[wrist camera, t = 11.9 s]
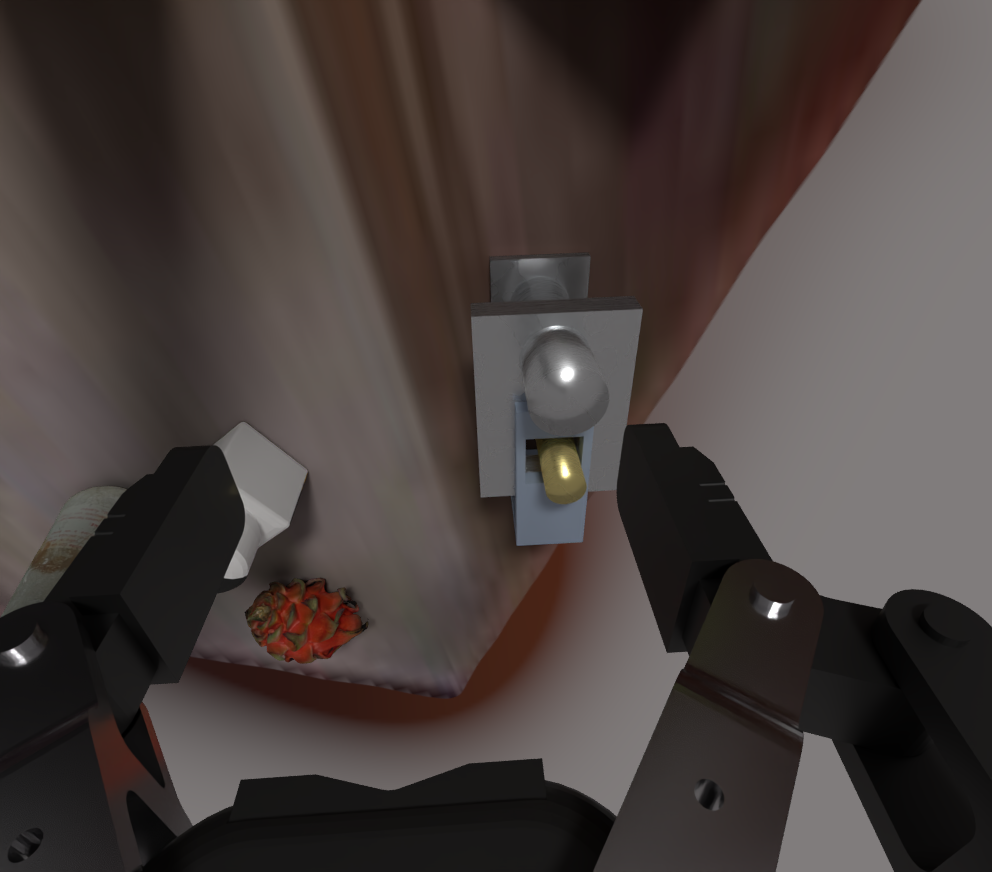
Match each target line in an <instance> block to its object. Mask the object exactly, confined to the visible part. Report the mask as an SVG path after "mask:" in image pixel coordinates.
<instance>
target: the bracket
mask: <svg viewBox="0 0 992 872" xmlns="http://www.w3.org/2000/svg"><path fill="white" fill-rule="evenodd" d="M593 433H594V426H593V427H592V428H590V429H589V430H587V431H585V432H582V433H580V434H576V435H571V436H557V435H552V434H549V433H547V432H545V431H543V430H541V429H540V428H539V427H538V426H536V425H535V423H534V422H533V421H532V419H531V417H530V415H529V411H528V406H527V402H515V495H514V496H511V501H512V510H513V518H514V527H515V536H516V544H517V546H523V545H540V544H557V543H574V542H583V534H584V524H585V513H586V503H587V493H588V483H589V473H590V463H591V453H592V443H593ZM562 437H580V440H579V452H578V457H579V460H580V464H581V467H582V470H583V474H584V477H585V481H586V485H587V489H586V492H585V494H584V495H583V497H582V498H580V499H579V500H578V501H576V502H573V503H570V504H557V503H554V502H552V501H551V500H550V499H549V498H548V497H547V495H546V491H545V486H544V481H543V476H542V472H529V473H525V458H526V455H537V454H538V450H537V449H532V450H526V439H543V438H562Z"/></svg>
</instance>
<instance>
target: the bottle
mask: <svg viewBox="0 0 992 872" xmlns="http://www.w3.org/2000/svg"><path fill="white" fill-rule="evenodd" d="M126 490H127V489H125V488H121V487H115V486H100V487H93V488H89V489H86V490H83V491H81V492H79V493H77V494H75V495H74V496H72V497H71V498H70V499H69V500H68V501H67V502H66V503H65V505H64V506H63V508H62V510H61V511H60V513H59V515H58V517H57V519H56V521H55V523H54V525H53V526H52V528H51V530H50V532H49V533H48V535H47V537H46V539H45V541H44V542H43V544H42V546H41V548H40V549H39V551H38V552H37V554H36V556H35V558H34V559H33V561H32V563H31V564H30V566H29V568H28V570H27V572H26V573H25V575H24V577H23V578H22V580H21V582H20V584H19V586H18V587H17V589H16V591H15V593H14V595H13V596H12V598H11V600H10V601H9V603H8V605H7V607H6V609H5V611H4V612H3V614H2V616H1V617H3V616H4V615H6V614H8V613H10V612H12V611H14V610H17V609H19V608H22V607H24V606H27V605H31V604H35V603H39V602H43V601H44V600H45V598H46V597H47V596H48V594H49V593H50V592H51V590H52V589H53V587H54V586H55V585H56V583H57V582H58V581H59V579H60V578H61V577H62V575H63V574H64V572H65V571H66V570H67V568H68V567H69V566H70V564H71V563H72V562H73V560H74V559H75V557H76V556H77V555H78V553H79V552H80V551H81V549H82V548H83V547H84V545H85V544H86V542H87V541H88V540H89V538H90V537H91V536H94V535H95V532H94V531H95V530H96V529H97V527H98V526H99V525H100V523H101V522H102V521H103V519H104V518H107V517H108V516H107V514H108V512H109V511H110V510H111V508H112V507H113V506H114V504H115V503H116V501H117V500H118V499H119V497H120V496H121V495H122V493H124V492H125V491H126Z"/></svg>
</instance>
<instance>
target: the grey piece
mask: <svg viewBox="0 0 992 872" xmlns="http://www.w3.org/2000/svg"><path fill="white" fill-rule="evenodd" d="M589 269H590V255H589V253H567V254H543V255H519V256H495V257H490V286H491V302H488V303H471V322H472V341H473V360H474V379H475V397H476V416H477V435H478V454H479V473H480V491H481V497H496V496H514V495H515V402H527V406H528V411H529V415H530V417H531V419H532V421H533V422H534V423H535V425H536V426H538V427H539V428H540V429H541V430H543V431H545V432H547V433H549V434H552V435H557V436H571V435H576V434H580V433H582V432H585V431H587V430H589V429H590V428H592V427H593V426H594V433H593V443H592V453H591V463H590V473H589V483H588V491H605V490H617V479H618V471H619V464H620V457H621V450H622V443H623V436H624V431H625V428H626V425H627V418H628V411H629V404H630V397H631V389H632V382H633V375H634V368H635V361H636V354H637V347H638V340H639V332H640V325H641V318H642V311H643V309H642V307H641V306H640V304H639V303H638V301H637V300H636V298H635V297H634V296H624V297H601V298H587V295H588V282H589ZM573 439H574V443H575V446H576V450H577V453H578V452H579V440H580V437H573ZM529 472H542V471H541V466H540V460H539V455H538V454H537V455H526V458H525V473H529Z"/></svg>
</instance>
